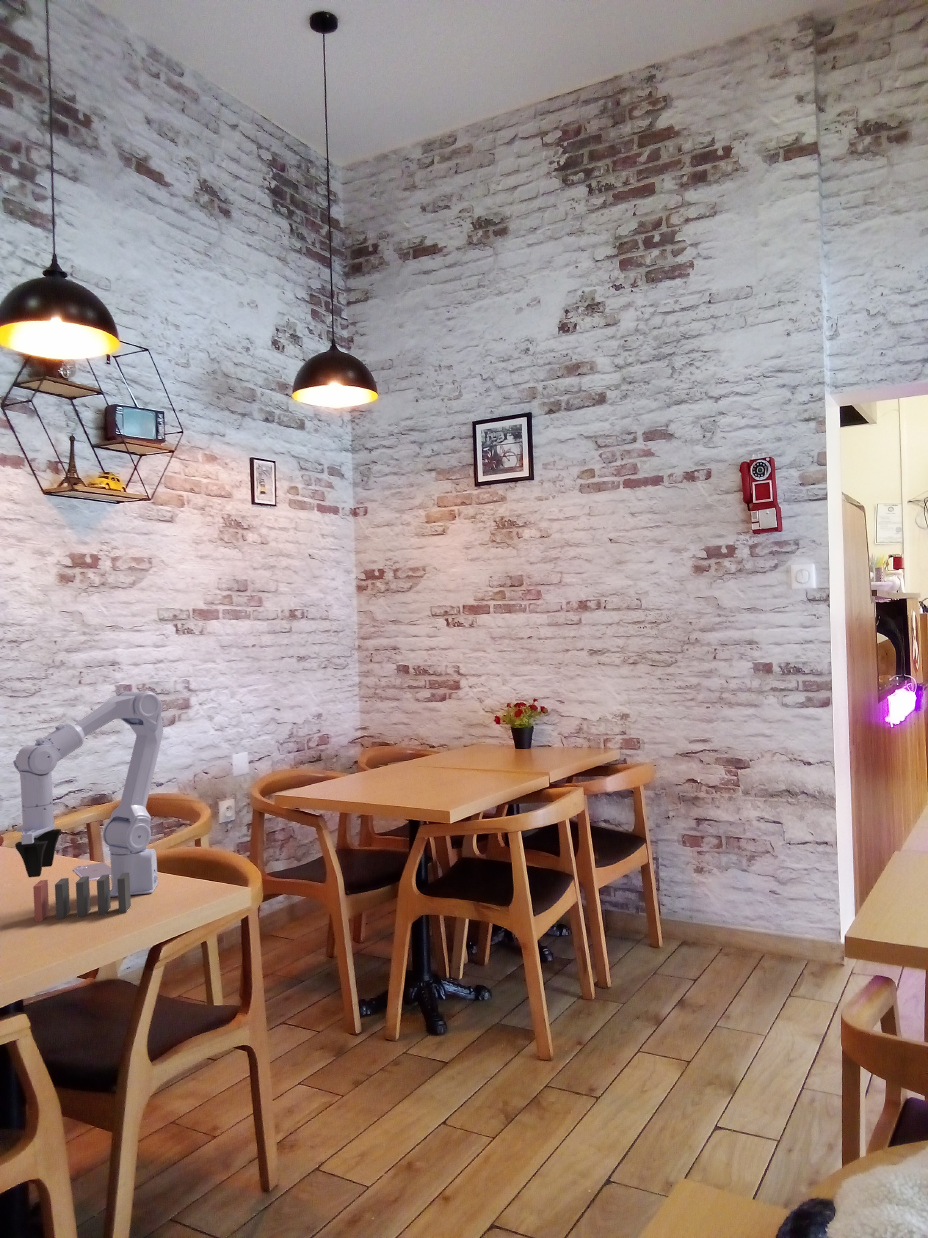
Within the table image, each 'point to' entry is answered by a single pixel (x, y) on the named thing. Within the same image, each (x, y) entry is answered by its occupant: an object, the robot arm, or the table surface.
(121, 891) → the domino
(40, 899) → the red domino
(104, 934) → the table surface
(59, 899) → the domino
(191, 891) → the table surface
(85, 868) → the mobile phone
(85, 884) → the domino
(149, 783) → the robot arm
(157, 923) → the table surface
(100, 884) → the domino
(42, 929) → the table surface
